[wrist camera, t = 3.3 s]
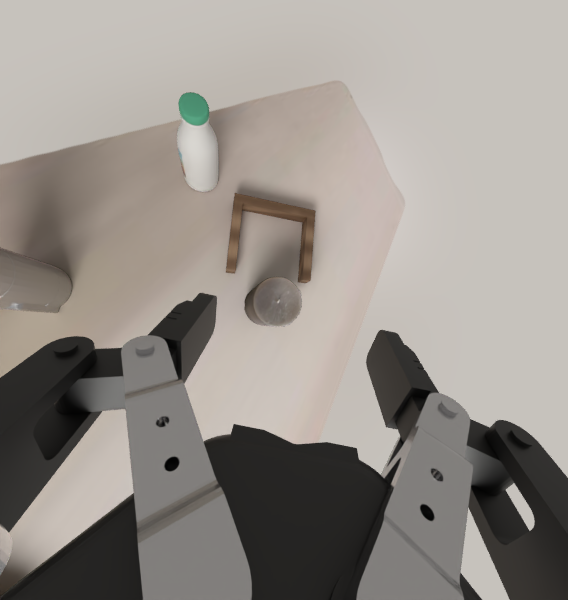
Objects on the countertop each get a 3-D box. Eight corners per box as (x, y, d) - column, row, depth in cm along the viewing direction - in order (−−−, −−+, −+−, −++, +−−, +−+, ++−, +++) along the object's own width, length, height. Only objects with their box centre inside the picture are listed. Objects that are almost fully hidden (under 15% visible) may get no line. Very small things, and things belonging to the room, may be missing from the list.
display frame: (305, 283, 62) (310, 280, 59) (225, 272, 57) (226, 269, 53) (310, 216, 64) (315, 210, 61) (233, 200, 59) (234, 193, 56)
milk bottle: (225, 177, 59) (228, 107, 40) (205, 199, 57) (199, 137, 38) (198, 155, 58) (188, 72, 38) (177, 177, 56) (156, 101, 37)
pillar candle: (237, 297, 57) (243, 290, 43) (272, 279, 60) (289, 266, 45) (256, 333, 58) (269, 337, 43) (290, 313, 60) (313, 311, 46)
